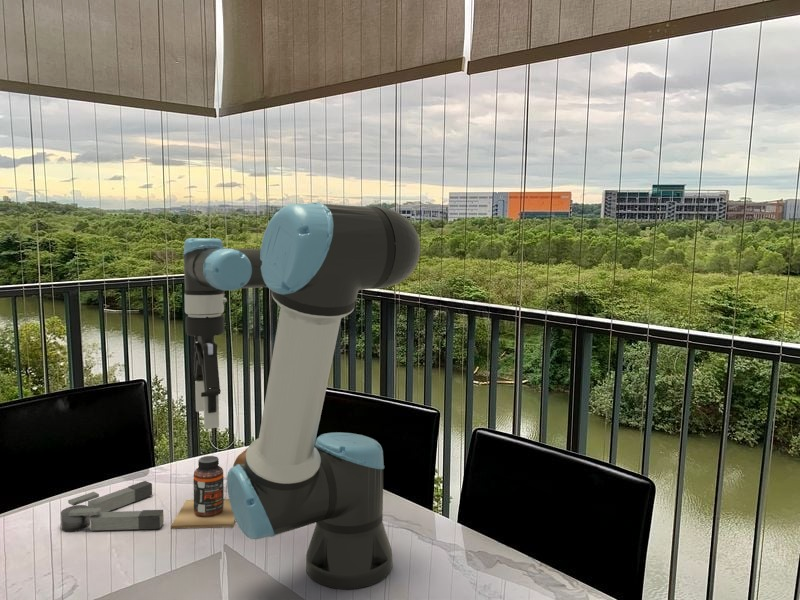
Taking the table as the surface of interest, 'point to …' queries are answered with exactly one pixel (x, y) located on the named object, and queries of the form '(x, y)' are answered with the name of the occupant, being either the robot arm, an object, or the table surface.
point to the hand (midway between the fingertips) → (206, 419)
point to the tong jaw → (115, 497)
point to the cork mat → (192, 520)
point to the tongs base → (109, 519)
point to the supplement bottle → (208, 487)
